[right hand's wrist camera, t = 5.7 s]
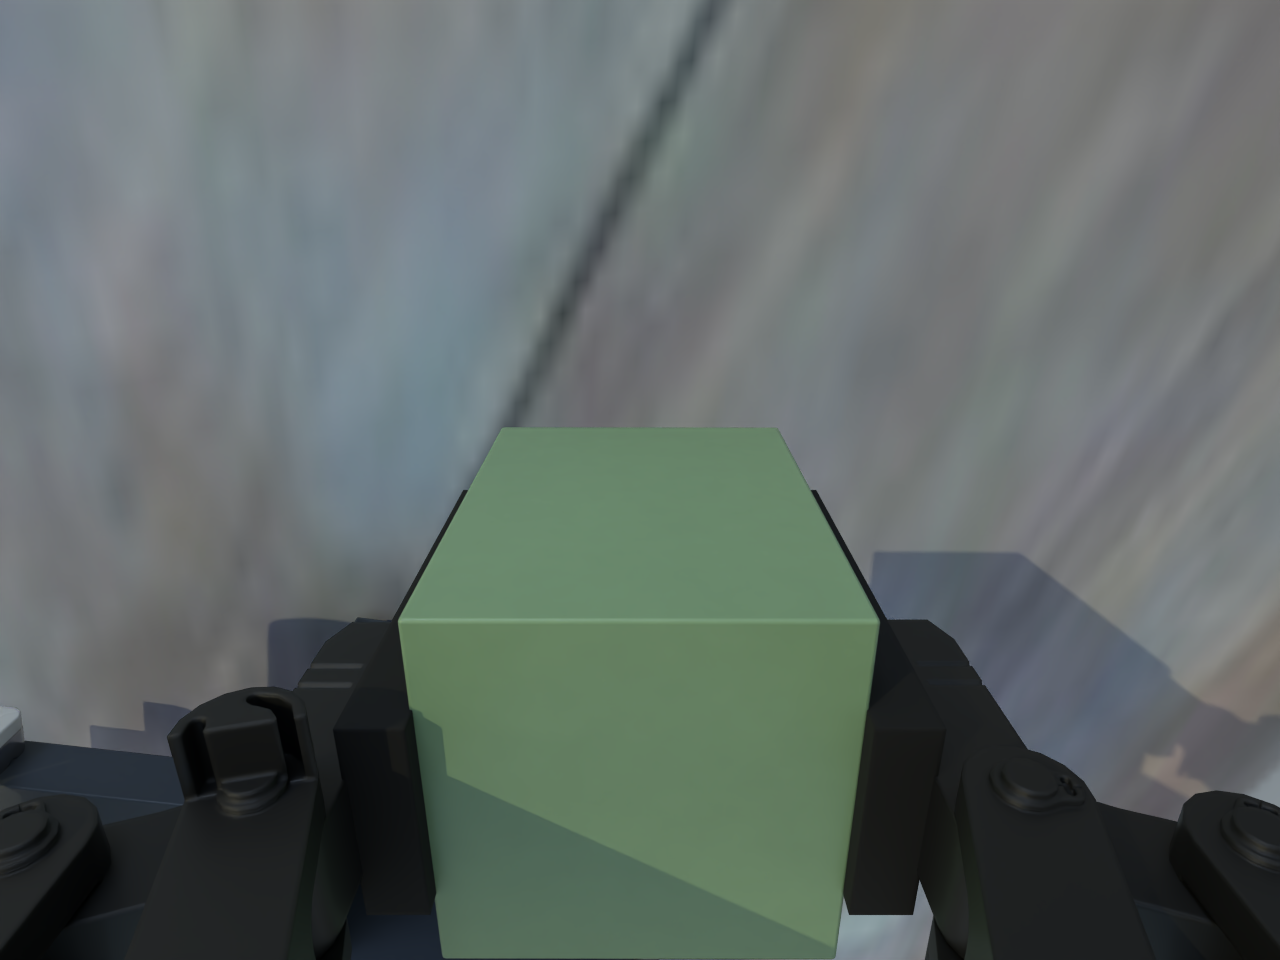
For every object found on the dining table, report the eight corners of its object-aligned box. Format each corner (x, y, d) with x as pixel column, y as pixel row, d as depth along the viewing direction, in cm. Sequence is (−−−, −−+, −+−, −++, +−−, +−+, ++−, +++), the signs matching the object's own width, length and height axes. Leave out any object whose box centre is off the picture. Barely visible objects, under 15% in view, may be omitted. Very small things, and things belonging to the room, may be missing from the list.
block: (778, 427, 14) (881, 620, 8) (761, 660, 16) (836, 961, 10) (501, 426, 14) (395, 620, 8) (517, 660, 16) (440, 960, 10)
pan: (701, 660, 27) (714, 736, 24) (644, 906, 32) (648, 1003, 28) (-48, 564, 25) (-162, 631, 22) (-1, 841, 30) (-90, 937, 26)
